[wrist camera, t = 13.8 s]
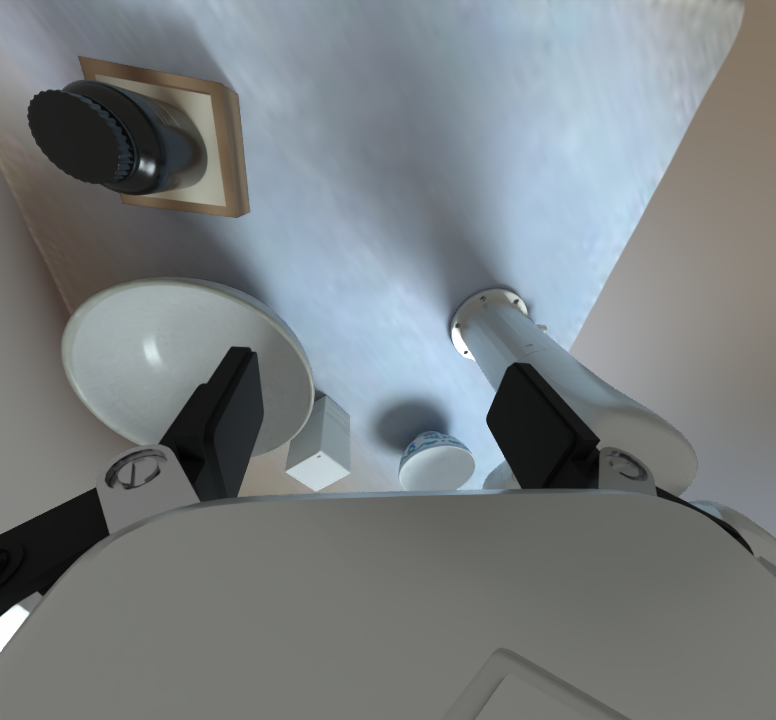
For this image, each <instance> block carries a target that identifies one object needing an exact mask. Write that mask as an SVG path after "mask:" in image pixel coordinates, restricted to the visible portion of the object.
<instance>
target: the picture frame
mask: <svg viewBox="0 0 776 720" xmlns="http://www.w3.org/2000/svg"><path fill="white" fill-rule="evenodd" d="M78 58H79V61H80V64H81V67H82V71H83V74H84V77H85V80H96V81H100V82H105V83H108V84H111V85H115V86H118V87H121V88H124V89H127V90H131V91H134V92H137V93H140V94H143V95H146V96H150V97H153V98H156V99H159V100H162V101H165V102H167V103H169V104H171V105H173V106H175V107H176V108H178V109H179V110H181V111H182V112H183V113H184V114H185V115H187V116H188V117H189V118H190V120H191V121H192V122H193V123H194V124H195V126H196V127H197V129H198V130H199V132H200V134H201V136H202V138H203V140H204V142H205V146H206V149H207V155H208V164H207V169H206V172H205V175H204V176H203V178H202V179H201V180H200V181H199V182H198V183H197V184H195V185H193V186H191V187H188V188H183V189H178V190H172V191H166V192H160V193H154V194H149V195H140V196H132V195H125V194H121V193H120V196H121V199H122V202H123V204H129V205H137V206H145V207H153V208H162V209H170V210H178V211H186V212H194V213H202V214H210V215H218V216H226V217H234V218H238V217H240V216H242V215H245V214H247V213H249V212H250V207H249V197H248V187H247V177H246V167H245V158H244V148H243V138H242V128H241V118H240V109H239V99H238V94H236V93H235V92H233V91H232V90H230V89H229V88H227V87H226V86H224V85H223V84H221V83H217V82H211V81H206V80H201V79H196V78H191V77H185V76H180V75H175V74H170V73H164V72H159V71H154V70H149V69H144V68H138V67H133V66H128V65H123V64H118V63H112V62H107V61H102V60H97V59H92V58H86V57H81V56H78Z"/></svg>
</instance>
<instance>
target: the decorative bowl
mask: <svg viewBox="0 0 776 720" xmlns="http://www.w3.org/2000/svg"><path fill="white" fill-rule="evenodd" d="M231 346H238V347H250V348H251V350H252V352H257V356H258V364H259V372H260V381H261V389H262V398H263V406H264V418H263V422H262V425H261V428H260V431H259V434H258V437H257V439H256V442H255V445H254V448H253V451H252V454H251V457H250V459H253V458H256V457H260V456H263V455H266V454H268V453H271V452H273V451H275V450H277V449H279V448H280V447H282V446H284V445H285V444H287V443H288V442H289V441H291V440H292V439H293V438H294V437H295V436H296V435H297V434H298V433H299V432H300V431H301V430H302V428H303V427H304V425H305V424H306V422H307V420H308V419H309V417H310V414H311V412H312V408H313V404H314V396H315V386H314V378H313V373H312V369H311V366H310V363H309V360H308V357H307V355H306V353H305V351H304V349H303V347H302V345H301V343H300V341H299V340H298V338H297V337H296V335H295V334H294V332H293V331H292V330H291V328H290V327H289V326H288V325H287V324H286V322H285V321H284V320H283V319H282V318H281V317H280V316H279V315H278V314H276V313H275V312H274V311H273V310H272V309H270V308H269V307H268V306H266V305H265V304H264V303H262V302H260V301H259V300H257V299H256V298H254V297H252V296H250V295H248V294H246V293H244V292H242V291H240V290H237V289H235V288H232V287H229V286H226V285H223V284H220V283H216V282H212V281H207V280H202V279H195V278H185V277H154V278H144V279H137V280H131V281H127V282H123V283H119V284H116V285H113V286H111V287H108V288H106V289H104V290H101V291H99V292H97V293H96V294H94V295H92V296H91V297H89V298H88V299H87V300H85V301H84V302H83V303H82V304H81V305H80V306H79V307H78V308H77V309H76V310H75V311H74V313H73V314H72V315H71V317H70V318H69V320H68V322H67V324H66V327H65V329H64V332H63V336H62V342H61V357H62V363H63V367H64V371H65V373H66V376H67V378H68V380H69V383H70V384H71V386H72V388H73V390H74V391H75V393H76V394H77V396H78V397H79V399H80V400H81V401H82V402H83V404H84V405H85V406H86V407H87V408H88V409H89V410H90V411H91V412H92V413H93V414H94V415H95V416H96V417H97V418H98V419H99V420H101V421H102V422H103V423H104V424H105V425H107V426H108V427H109V428H111V429H112V430H114V431H115V432H117V433H119V434H120V435H122V436H124V437H125V438H127V439H129V440H131V441H132V442H134V443H136V444H139V445H141V446H142V445H149V444H158V443H159V442H160V440H161V439H162V437H163V436H164V435H165V433H166V432H167V430H168V429H169V427H170V426H171V424H172V423H173V421H174V420H175V419H176V417H177V416H178V414H179V413H180V411H181V410H182V408H183V407H184V406H185V404H186V403H187V401H188V400H189V398H190V397H191V395H192V394H193V392H194V391H195V390H196V388H197V387H198V386H199V385H200V384H202V383H207V382H208V381H209V379H210V378H211V376H212V375H213V373H214V372H215V370H216V369H217V367H218V365H219V364H220V362H221V361H222V359H223V358H224V356H225V355H226V353H227V352H228V350H229V349H230V347H231Z"/></svg>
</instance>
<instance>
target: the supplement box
mask: <svg viewBox="0 0 776 720" xmlns="http://www.w3.org/2000/svg"><path fill="white" fill-rule="evenodd" d="M285 472H286V473H287V474H289V475H291V476H292V477H294V478H295V479H297V480H298V481H300V482H302V483H303V484H305V485H306V486H308V487H309V488H311V489H312V490H314V491H315V492H316V491H318V490H320V489H322V488H324V487H326V486H328V485H330V484H331V483H333V482H335V481H337V480H339V479H340V478H342V477H344V476H346V475H348V474H350V473H351V462H350V416H349V415H347V414H346V413H345V412H344V411H343V410H342V409H341V408H340V407H339V406H338V405H336V404H335V403H334V402H333V401H332V400H331V399H330V398H329V397H328V396H326V395H325V396H324V397H322V398H320V399H319V400H317V401H315V402H314V404H313V408H312V412H311V414H310V417H309V419H308V420H307V422H306V424H305V425H304V427H303V428H302V430H301V431H300V432H299V433H298V434H297V435H296V436H295V437H294V438H293V439H292V440H291V443H290V447H289V453H288V458H287V463H286V468H285Z"/></svg>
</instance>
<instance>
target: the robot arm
mask: <svg viewBox="0 0 776 720" xmlns="http://www.w3.org/2000/svg"><path fill="white" fill-rule="evenodd" d="M546 330H547V327H546V326H545V325H536V324H534V323H533V322H532V321H531V320H530V319H529V318H528V311H527V308H526V305H525V303H524V302H523V300H522V299H521V298H520V297H519V296H517V295H516V294H515V293H513V292H511V291H509V290H506V289H499V288H495V289H488V290H484V291H481V292H479V293H477V294H474V295H473V296H471V297H470V298H469V299H467V300H466V301H465V302H464V303H463V304H462V305H461V306H460V307H459V309H458V310H457V311H456V313H455V315H454V317H453V320H452V323H451V328H450V335H451V340H452V343H453V344H454V346H455V348H456V349H457V351H458V352H459V353H460V354H462V355H463V356H465V357H467V358H469V359H473V360H475V361H476V363H477V364H478V366H479V367H480V369H481V370H482V372H483V373H484V375H485V376H486V378H487V380H488V381H489V383H490V384H491V386H492V387H493V389H494V390H495V392H496V395H495V398H494V400H493V402H492V405H491V407H490V409H489V412H488V414H487V418H486V422H487V425H488V427H489V429H490V431H491V433H492V435H493V436H494V438H495V440H496V442H497V444H498V446H499V448H500V449H501V451H502V453H503V455H504V457H505V459H506V460H505V461H504V462H502V463H501V464H500V465H499V466H497V467H496V468H495V469H494V470H493V471H492V472H491V473H490V474H489V475H488V476H487V478H486V479H485V482H484V484H483V489H482V490H437V491H390V492H350V493H312V494H287V495H263V496H247V497H237V495H238V493H239V490H240V487H241V484H242V481H243V478H244V475H245V472H246V469H247V466H248V463H249V460H250V457H251V454H252V451H253V448H254V445H255V442H256V439H257V437H258V434H259V431H260V428H261V425H262V422H263V418H264V406H263V398H262V389H261V381H260V372H259V364H258V356H257V352H252V350H251V348H250V347H238V346H231V347H230V349H229V350H228V352H227V353H226V355H225V356H224V358H223V359H222V361H221V362H220V364H219V365H218V367H217V369H216V370H215V372H214V373H213V375H212V376H211V378H210V379H209V381H208V382H207V383H202V384H200V385H199V386H198V387H197V388H196V390H195V391H194V392H193V394H192V395H191V397H190V398H189V400H188V401H187V403H186V404H185V406H184V407H183V408H182V410H181V411H180V413H179V414H178V416H177V417H176V419H175V420H174V421H173V423H172V424H171V426H170V427H169V429H168V430H167V432H166V433H165V435H164V436H163V437H162V439H161V440H160V442H159V443H158V444H149V445H142V446H138V447H135V448H132V449H129V450H127V451H125V452H123V453H121V454H119V455H117V456H116V457H115V458H113V459H112V460H110V461H109V462H108V463H107V464H106V465H105V466H104V467H103V468H102V469H101V470H100V472H99V474H98V476H97V478H96V488H94V489H92V490H90V491H87V492H86V493H83V494H81V495H79V496H77V497H75V498H73V499H71V500H69V501H67V502H65V503H63V504H61V505H59V506H57V507H55V508H53V509H51V510H49V511H47V512H45V513H43V514H41V515H39V516H37V517H35V518H33V519H31V520H29V521H27V522H25V523H23V524H21V525H19V526H17V527H15V528H13V529H11V530H9V531H7V532H4V533H2V534H0V720H776V538H775V537H773V536H772V535H771V534H770V533H768V532H767V531H766V530H764V529H763V528H761V527H760V526H759V525H757V524H756V523H755V522H753V521H752V520H751V519H749V518H748V517H746V516H745V515H743V514H741V513H739V512H738V511H736V510H734V509H732V508H730V507H728V506H725V505H723V504H720V503H718V502H712V501H707V500H696V501H691V502H686V501H684V500H682V499H680V498H678V497H679V496H680V495H681V494H682V493H683V492H684V491H685V490H686V489H687V488H688V487H689V486H690V485H691V483H692V481H693V480H694V478H695V475H696V473H697V469H698V460H697V456H696V453H695V451H694V449H693V447H692V445H691V444H690V442H689V441H688V440H687V438H686V437H685V436H684V435H683V434H682V433H681V432H680V431H679V430H677V429H676V428H675V427H674V426H673V425H672V424H671V423H669V422H668V421H667V420H665V419H663V418H662V417H661V416H659V415H658V414H656V413H655V412H653V411H652V410H650V409H648V408H647V407H645V406H643V405H642V404H640V403H638V402H637V401H635V400H633V399H631V398H630V397H628V396H627V395H625V394H623V393H622V392H620V391H618V390H617V389H615V388H614V387H612V386H611V385H609V384H608V383H606V382H605V381H603V380H602V379H600V378H599V377H598V376H596V375H595V374H594V373H593V372H591V371H590V370H589V369H587V368H586V367H585V366H584V365H582V364H581V363H580V362H579V361H578V360H576V359H575V358H574V357H572V356H571V355H570V354H569V353H568V352H567V351H566V350H564V349H563V348H562V347H561V346H560V345H558V344H557V343H556V342H555V341H554V340H553V339H551V338H550V337H549V336H548V335H547V334H546V333H545V332H546Z"/></svg>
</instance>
